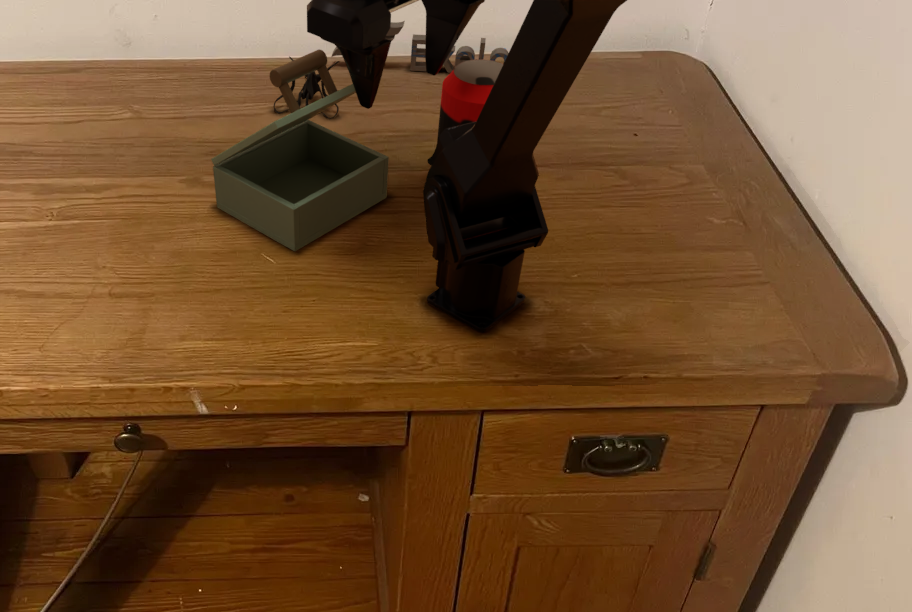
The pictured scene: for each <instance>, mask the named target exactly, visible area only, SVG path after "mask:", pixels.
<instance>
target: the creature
mask: <svg viewBox="0 0 912 612" xmlns="http://www.w3.org/2000/svg"><path fill="white" fill-rule="evenodd" d="M288 58H289V59H290V60H291V61H293V60H294V59H293V58H292V57H291V56H290V55H289V56H288ZM338 63H340V60H337V61H336V62H334V63H333V64H332V65H330V66H328V67H327V69H328V71H329V72H330V70H331V69H332V68H334V67H335V66H336V65H337V64H338ZM304 80H305V82H304V83H303V86H302V88H301V90H300V91H299V92H298V97H297V100H296V101H297V103H298V105H299V107H301V105H302V100H305V103H304V104H305V105H304V107H305V106H307V105H309V104H310V102H309V101H312V100H313V98H314V96H315V95H316V93H319V94H320V99H322V98H324V97H326V96H328V93H327V91H326V88H325V86H324V84H323V82H322V80H321V77H320V75H319V73H316V71H314V72H311V73H309V74H307V75H305V76H304ZM319 83H320V84H319ZM295 87H296V80H294V81H292V82H291V85H290V89H291V91H292V93H293V91H294V90H295ZM282 98H283V96H282V94H281V95H280V96H278V97H277V98H276V100H275V101H274V103H273V110H274V112H275V113H277V114H282V113H285V112H288V111H290V110H289V108H287V109H285V110H283V111H278V110H277V108H276V103H277V101H279V100H281V99H282ZM334 106H335V107H336V113H335V114H334V115H333V116H331V117H328V116H327V115H326V113H324V112H321V113H320V114H323V115H324V117H325V118H327V119H333V118H335V117H336V116H338V114H339V112H340V111H339V106H338V103H337V104H335V105H334Z"/></svg>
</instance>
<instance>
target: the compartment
mask: <svg viewBox="0 0 912 612" xmlns="http://www.w3.org/2000/svg"><path fill="white" fill-rule="evenodd" d="M389 162H390V157H389V156H388V155H386V154H384V153H381V152H379V151H378V150H376V149H372V148H370V147H368V146H366V145H365V144H362V143H360V142H358V141H356V140H354V139H351V138H349V137H348V136H345V135H343V134H341V133H339V132H336V131H334V130H332V129H329V128H327V127H326V126H323V125H321V124H319V123H316V122H314V121H313V120H311V119H308V120H306V121H304V122H302V123H300V124H298V125H296V126H294V127H292V128H290V129H288V130H286V131H284V132H282V133H280V134H278V135H276V136H274V137H272V138H270V139H268V140H266V141H264V142H261V143H259V144H257V145H255V146H253V147H251V148H249V149H247V150H245V151H243V152H241V153H239V154H237V155H235V156H233V157H231V158H229V159H227V160H225V161H223V162H221V163H219V164H217V165H215V166H214V165H213V166H212V172H213V180H214V183H213V184H214V193H215V201H216V202H215V203H216V208H217V209H219V210H221V211H223V212H225V213H226V214H228V215H229V216H231V217H233V218H235V219H237V220H238V221H240V222H242V223H243V224H245V225H247V226H249V227H250V228H253V230H256V231H258V232H259V233H261V234H263V235H265V236H267V237H268V238H271V239H272V240H273V241H275V242H277V243H279V244H280V245H282V246H284V247H285V248H288V249H289V250H291V251H293V252H297V251H299V250H301V249H302V248H303V247H306V246H307V245H309V244H311V243H313V242H315V240H317V239H319V238H321V237H322V236H324V235H325V234H327V233H329V232H331V231H332V230H334V229H336V228H338V227H340V226H341V225H342V224H344V223H346V222H348V221H350V220H352V219H353V218H354V217H356V216H358V215H360V214H362V213H364V212H365V211H367V210H369V209H370V208H371V207H374V206H375V205H376V204H378V203H381V202H382V201H383V200H385V199H387V196H388V181H389V180H388V179H389Z"/></svg>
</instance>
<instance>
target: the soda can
mask: <svg viewBox="0 0 912 612" xmlns="http://www.w3.org/2000/svg"><path fill="white" fill-rule="evenodd" d="M502 66H503V63H502V62H499V61H496V60H495V61H492V60H490V59H483V60H479V59H475V60H469V61H465V62H462V63H460V64H458V65H457V66H456V67H455V66H454V69H453V71H452V72H451V73H448V75H447V76H445V78H444V79H443V82H442V85H441V96H440V107H439V118H438V126H437V127H438V129H437V139H436V143H437V142H438V138H439V136H440V135H441V133H442V132H443V131H444V129H446V128H450V127H454V126H459V125H463V124H467V123H471V122H476V121H477V119H478V117H479V115H480V113H481V111H482V108H483V106H484V104H485V102H486V100H487V98H488V96H489V94H490V92H491V89H492V87H493V85H494V83H495V81H496V79H497V77H498V75H499V72H500V70H501V68H502Z"/></svg>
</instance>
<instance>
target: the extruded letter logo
mask: <svg viewBox="0 0 912 612" xmlns="http://www.w3.org/2000/svg"><path fill="white" fill-rule="evenodd" d="M404 26H405V20H403V21H398V22H392V21H391V27H390V29H389V31H388V33H387V35H386V37H385V38H386V39H388V40H391V42H392V41H394V40H395V37H396V35H399V33H400V32H401V31H402V29H403V28H404ZM486 41H487V38H486V37H480V44H479V51H478V60H485V59H484V58H485V51H486V50H485V49H486ZM425 44H426V34H414V33H413V34H412V38H411V51H410V67H409V71H412V72H427V71H426V61H417V59H418V58H422V59H425V48H424V47H418V45H425ZM454 53H455V59H454V65H453V63H452V62H451V60H450V58H451V56H452V55H454ZM508 53H509V51H508V49H506V48H504V47H496V48H494V49H493V50H492V51H491V53H490V55H489V60H492V61H496V59H498V58H502V59H503V63H502V64H504V62H505V60H506V58H507V56H508ZM337 56H338V57H339V56H342V54H341V52H340V50H339V49H338V48H337V47H336V46H335V48H334V49H333V51H332V53H331V56H330V57H331V58H333V57H337ZM469 60H476V53H475V50H474V49H473V48H472V47H471V46H469V45H463V46H460V47H459V48H458V49H457V50H456V45H454V47H453V48H452V50H451V52H450V53H449V55H448V57H447V59H446V60H445V62H444V64H443V65H442V67H441V69H442V68H443V67H444V69H445V70H446V72H447V73H448V74H450V73H451V72H452V71H453V70H454V68H455V67H456V66H457V65H458V64H460V63H462V62H465V61H469Z"/></svg>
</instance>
